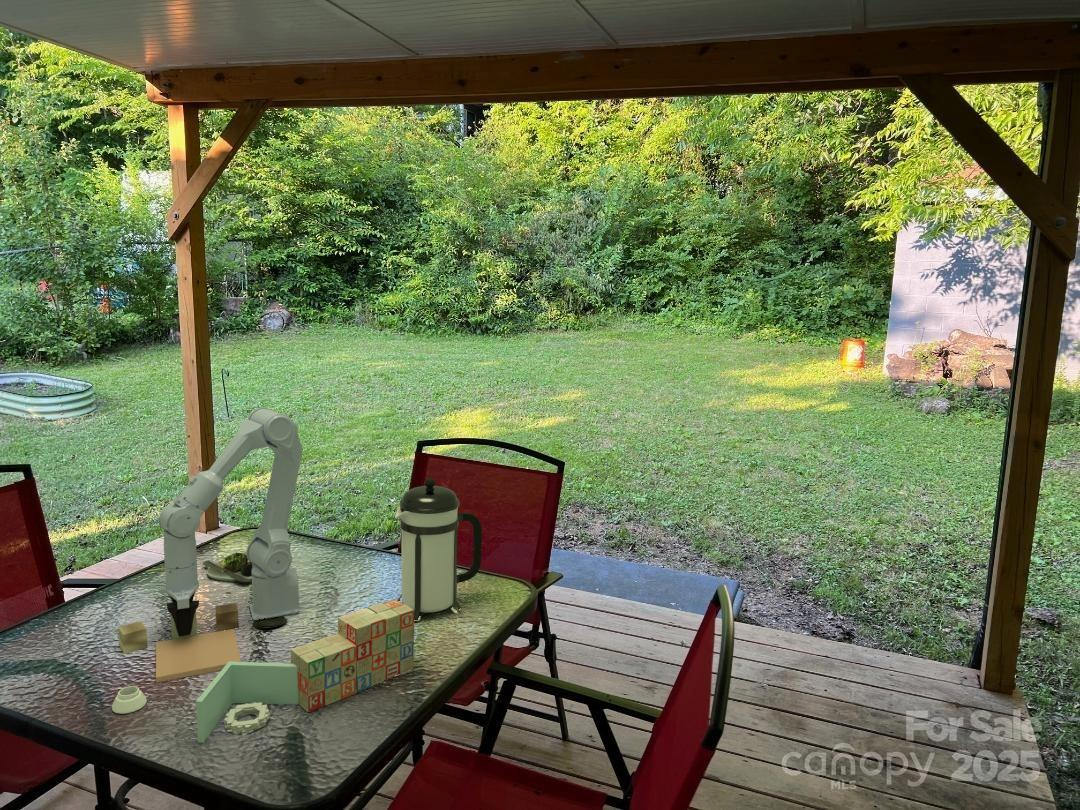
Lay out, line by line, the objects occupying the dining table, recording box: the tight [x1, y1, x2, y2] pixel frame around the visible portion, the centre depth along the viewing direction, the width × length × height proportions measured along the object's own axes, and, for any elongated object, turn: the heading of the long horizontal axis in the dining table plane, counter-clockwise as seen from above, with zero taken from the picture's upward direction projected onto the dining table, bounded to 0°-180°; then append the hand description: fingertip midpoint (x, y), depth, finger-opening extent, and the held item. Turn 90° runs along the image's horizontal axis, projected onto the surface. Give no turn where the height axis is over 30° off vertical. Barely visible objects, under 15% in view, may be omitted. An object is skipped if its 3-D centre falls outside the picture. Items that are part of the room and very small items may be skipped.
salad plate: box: [202, 551, 252, 584], centre depth 179 cm, size 19×18×5 cm
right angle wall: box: [195, 661, 299, 744], centre depth 119 cm, size 12×12×8 cm
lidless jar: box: [111, 685, 147, 714], centre depth 122 cm, size 5×3×5 cm
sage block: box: [170, 611, 198, 640], centre depth 146 cm, size 4×4×6 cm
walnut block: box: [215, 602, 240, 632], centre depth 151 cm, size 4×4×4 cm
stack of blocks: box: [290, 599, 415, 713], centre depth 130 cm, size 21×6×12 cm, turn 135°
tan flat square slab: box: [155, 629, 242, 683], centre depth 139 cm, size 14×14×1 cm
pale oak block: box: [117, 621, 148, 655], centre depth 141 cm, size 4×4×4 cm
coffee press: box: [394, 477, 483, 620], centre depth 161 cm, size 17×16×30 cm
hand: (184, 627), depth 146 cm, fingers open, 6 cm apart
